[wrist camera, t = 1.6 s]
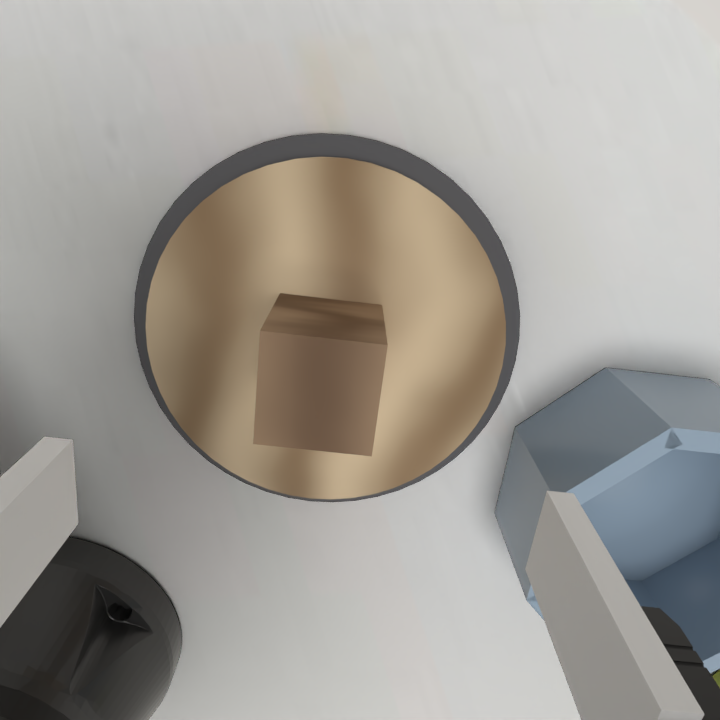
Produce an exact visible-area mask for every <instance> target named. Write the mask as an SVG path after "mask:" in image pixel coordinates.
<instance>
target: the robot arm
mask: <svg viewBox="0 0 720 720" xmlns="http://www.w3.org/2000/svg"><path fill="white" fill-rule="evenodd" d="M78 524H79V522H78V507H77V492H76V477H75V462H74V447H73V440H72V439H63V438H54V437H45V436H44V437H43V438H42V439H41V440H40V441H39V442H38V443H37V444H36V445H35V446H34V447H33V448H31V449H30V450H29V451H28V452H27V453H26V454H25V455H24V456H23V457H22V458H21V459H19V460H18V461H17V462H16V463H15V464H14V465H13V466H12V467H11V468H10V469H9V470H8V471H6V472H5V473H4V474H3V475H2V476H1V477H0V720H149V718H150V717H151V716H152V714H153V713H154V712H155V711H156V709H157V708H158V707H159V705H160V703H161V702H162V700H163V698H164V697H165V695H166V693H167V691H168V688H169V686H170V683H171V680H172V677H173V675H174V672H175V669H176V666H177V663H178V660H179V657H180V652H181V643H182V639H181V629H180V624H179V620H178V617H177V614H176V612H175V610H174V608H173V606H172V604H171V602H170V600H169V599H168V597H167V596H166V594H165V593H164V591H163V590H162V589H161V588H160V586H159V585H158V584H157V583H156V582H155V581H154V580H153V579H152V578H151V577H150V576H149V575H148V574H147V573H146V572H145V571H143V570H142V569H141V568H139V567H138V566H137V565H136V564H134V563H133V562H131V561H130V560H128V559H126V558H125V557H123V556H121V555H119V554H117V553H115V552H113V551H111V550H109V549H107V548H105V547H102V546H99V545H97V544H94V543H91V542H87V541H84V540H80V539H76V538H70V537H69V536H70V534H71V533H72V532H73V530H74V529H75V528H76V526H77V525H78ZM525 570H526V573H527V575H528V578H529V581H530V584H531V586H532V589H533V592H534V594H535V597H536V600H537V602H538V605H539V608H540V610H541V613H542V616H543V618H544V621H545V624H546V626H547V629H548V632H549V634H550V637H551V640H552V642H553V645H554V648H555V650H556V653H557V656H558V658H559V661H560V664H561V666H562V669H563V672H564V674H565V677H566V680H567V682H568V685H569V688H570V690H571V693H572V696H573V698H574V701H575V704H576V706H577V709H578V712H579V714H580V717H581V720H720V688H719V686H718V685H717V683H716V681H715V680H714V678H713V677H712V675H711V674H710V672H709V671H708V669H707V668H704V663H703V661H702V660H701V658H700V657H699V655H698V654H697V652H696V651H693V646H692V645H691V643H690V641H689V640H688V638H687V637H686V635H685V634H684V632H683V631H682V629H681V628H680V626H679V625H678V624H677V623H675V622H674V621H673V620H672V619H671V618H670V617H669V616H668V615H667V614H666V613H665V612H663V611H662V610H661V609H660V608H654V607H645V606H640V604H639V603H638V601H637V599H636V598H635V596H634V594H633V593H632V591H631V589H630V588H629V586H628V584H627V583H626V581H625V579H624V577H623V576H622V574H621V572H620V571H619V569H618V567H617V566H616V564H615V562H614V561H613V559H612V557H611V556H610V554H609V552H608V550H607V549H606V547H605V545H604V544H603V542H602V540H601V539H600V537H599V535H598V534H597V532H596V530H595V529H594V527H593V525H592V523H591V522H590V520H589V518H588V517H587V515H586V513H585V512H584V510H583V508H582V507H581V505H580V503H579V502H578V500H577V498H576V497H575V495H574V493H565V492H555V491H547V492H546V496H545V499H544V503H543V506H542V510H541V514H540V517H539V521H538V525H537V528H536V532H535V535H534V539H533V543H532V546H531V550H530V554H529V557H528V561H527V565H526V568H525Z"/></svg>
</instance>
